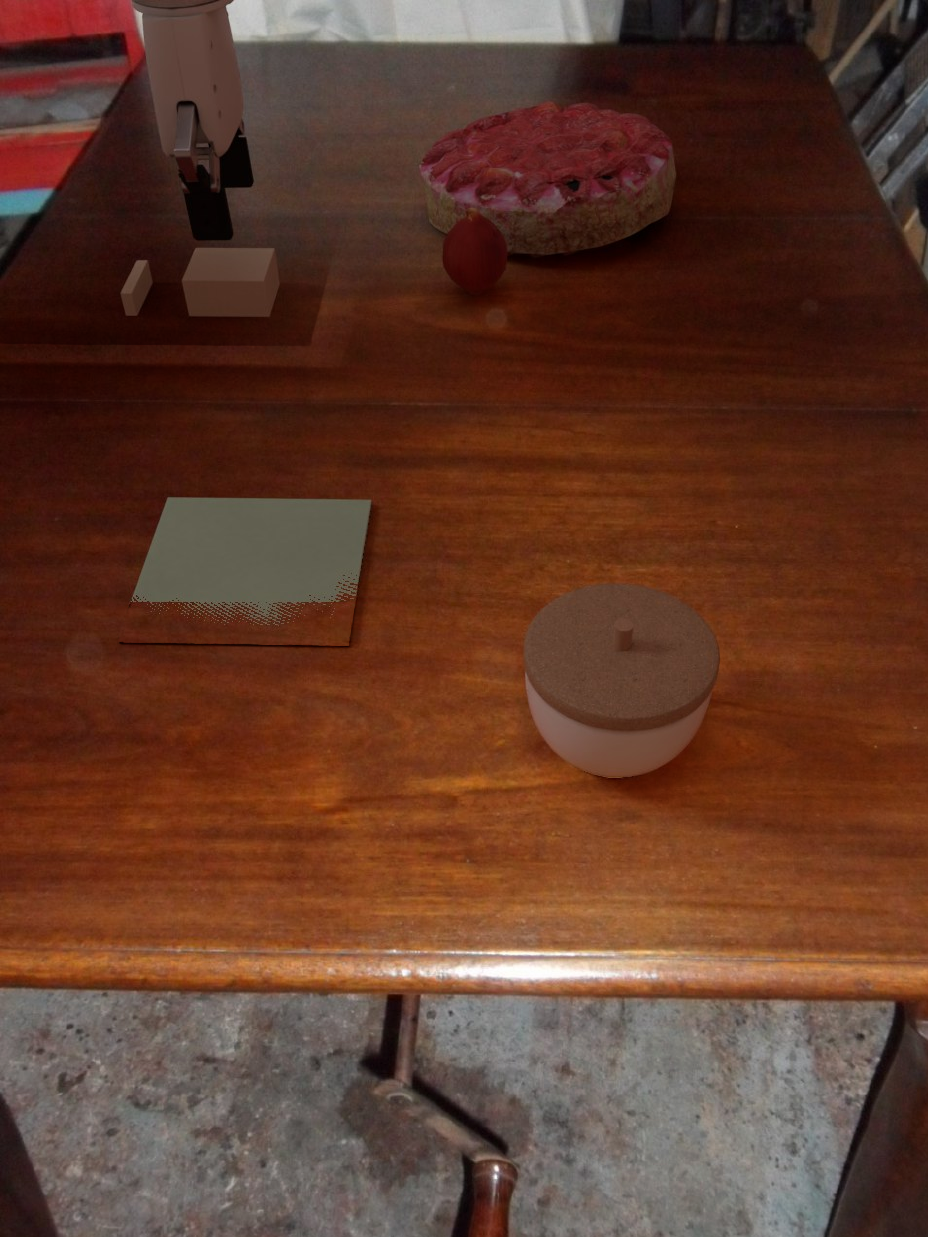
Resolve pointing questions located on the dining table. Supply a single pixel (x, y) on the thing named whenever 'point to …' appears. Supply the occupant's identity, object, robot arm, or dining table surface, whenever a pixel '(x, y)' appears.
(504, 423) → the dining table surface
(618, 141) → the cake
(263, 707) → the dining table surface
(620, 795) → the dining table surface
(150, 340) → the dining table surface
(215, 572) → the mat
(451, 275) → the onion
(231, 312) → the block with front tab
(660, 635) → the trinket box
